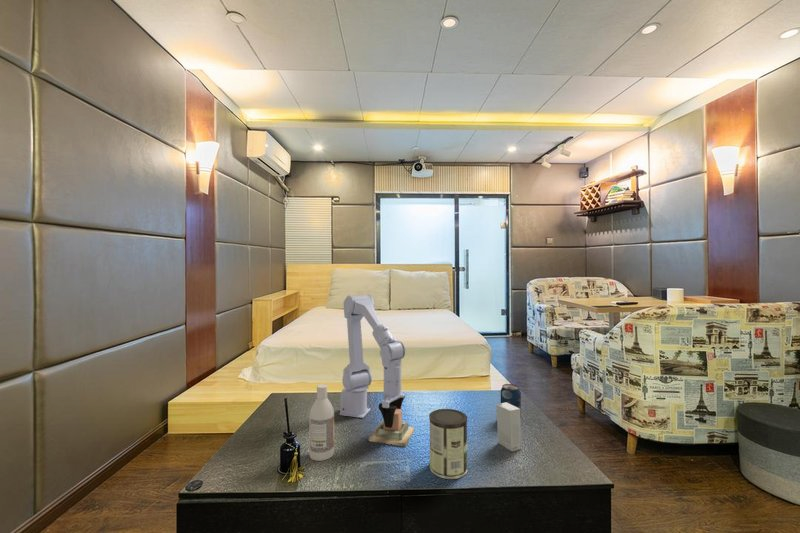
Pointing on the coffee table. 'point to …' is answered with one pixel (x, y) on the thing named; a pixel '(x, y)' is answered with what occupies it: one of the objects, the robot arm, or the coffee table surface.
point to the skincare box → (509, 426)
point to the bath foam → (321, 427)
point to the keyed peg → (396, 421)
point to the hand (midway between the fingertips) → (392, 421)
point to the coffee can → (448, 443)
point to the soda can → (511, 395)
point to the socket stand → (392, 435)
